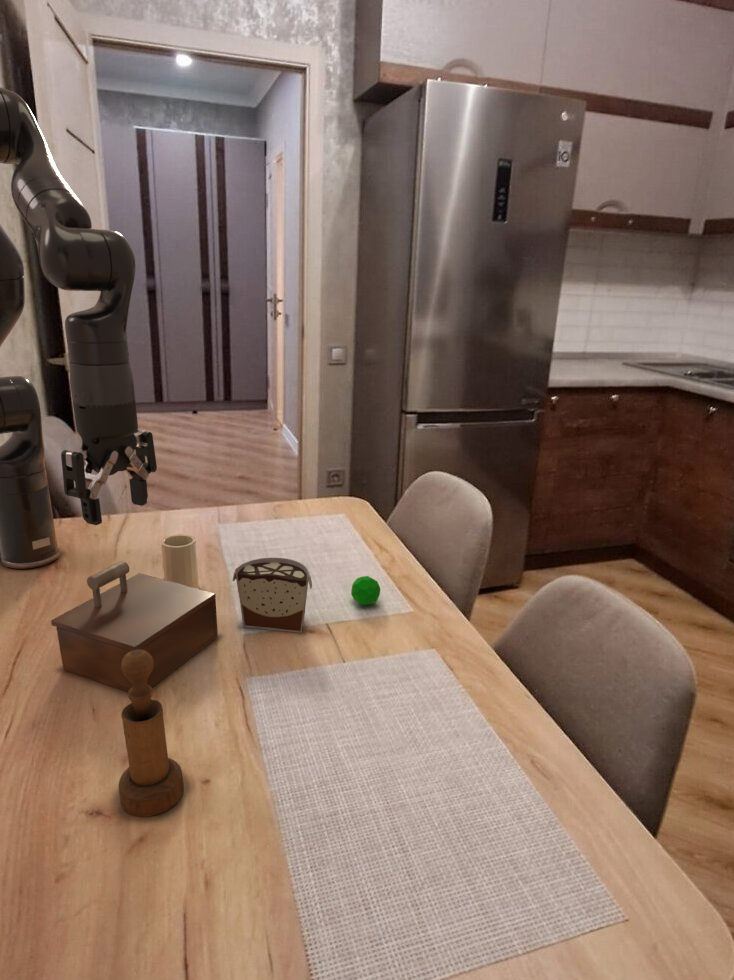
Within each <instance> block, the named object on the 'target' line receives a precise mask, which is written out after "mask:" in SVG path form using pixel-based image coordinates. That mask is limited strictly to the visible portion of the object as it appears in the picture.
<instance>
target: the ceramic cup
mask: <svg viewBox="0 0 734 980" xmlns="http://www.w3.org/2000/svg"><path fill="white" fill-rule="evenodd" d="M160 546H161V555H162V557H161V558H162V568H163V577H164V578H163V580H167V581H171V582H174V583H178V584H182V585H186V586H189V587H193V588H197V589H200V584H199V583H200V582H199V570H198V569H199V568H198V567H199V566H198V554H197V553H198V552H197V541H196V538H195V537H194V535H193V536H192V535H191V534H181V533H180V534H172V535H168V536H166V537H163V538H162V539H161V542H160Z"/></svg>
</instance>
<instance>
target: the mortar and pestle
mask: <svg viewBox="0 0 734 980" xmlns="http://www.w3.org/2000/svg"><path fill="white" fill-rule="evenodd" d="M153 667H154V661H153V658H152V656H151V655H150V654H149V653H148V652H147V651H145V650H133V651H130V652H128V653H127V654H126V655H125V656H124V658H123V660H122V663H121V669H122V672H123V674H124V675H125V677H126V678H127V679H128V680H129V681H130V682H131V683H132V688H131V689H130V690H129V692H127V694H128V698H129V701H130V703H129V704H127V705H126V706H125V707H124V708H123V709H122V711H121V721H122V729H123V733H124V741H125V747H126V753H127V760H128V767H127V768H126V769H125V770H124V771H123V772H122V774H121V776H120V778H119V781H118V793H119V799H120V805H121V806H122V808H123V809H124V811H125V812H126V813H128V814H130V815H132V816H135V817H153V816H156V815H157V816H158V815H159V814H163V813H164V812H166V811H168V810H169V809H171V808H172V807H174V806H175V805H176V804H178V802H179V801H180V800H181V798H182V796H183V793H184V789H185V788H184V787H185V786H184V785H185V784H184V778H183V770H182V767H181V765H180V764H179V763H178V761H176V760H174V759H172V758H170V757H169V754H168V745H167V738H166V737H167V736H166V728H165V719H164V718H165V717H164V709H163V704H162V702H161V701H158V700H156V699H153V698H152V696H153V687H151V686H149V685H148V684H147V679H148V678H149V676H150V674H151V672H152V670H153Z"/></svg>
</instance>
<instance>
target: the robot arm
mask: <svg viewBox="0 0 734 980" xmlns="http://www.w3.org/2000/svg"><path fill="white" fill-rule="evenodd" d="M0 164H3V165H4V164H5V165H17V166H16V167H15V169H14V171H13V172H12V173H13V174H12V176H11V181H10V192H11V193H10V194H11V197H12V200H13V203H14V206H15V207H16V209H17V211H18V213H19V214H20V215H21V217H22V218H23V220H24V221H25V223H26V224H27V226H28V227H29V229H30V230H31V232H32V233H33V236H34V239H35V242H36V247H37V253H38V259H39V261H38V262H39V265H40V269H41V272H42V274H43V276H44V277H45V279H46V280H47V281H48V282H49V283H50V284H51V285H53V286H55V288H58V289H60V290H64V291H66V292H67V291H68V292H99V296H98V299H97V301H96V303H95V304H94V306H92V307H90V308H87V309H84V310H80V311H76V312H75V311H74V312H72V313H70V314H68V315H67V316H66V318H65V321H64V330H65V331H64V332H65V339H66V344H67V353H68V360H69V385H70V393H71V400H72V407H73V413H74V424H75V429H76V433H77V434H78V435H79V437H80V438H81V447H80V449H76V450H68V449H64V450H62V451H61V453H60V458H61V460H60V461H61V469H62V481H63V491H64V495H65V496H68V497H72V498H77V499H79V501H80V506H81V507H80V508H81V514H82V519H83V520H84V521H85V522H86V524H89V525H93V526H98V525H101V524H102V523H103V518H102V517H103V516H102V509H101V503H100V497H98V496H99V493H100V492H101V488H102V486H103V485H105V484H106V483H107V482H108V479H109V476H113V475H115V474H117V473H118V472H124V471H125V472H126V473H127V475H128V476H129V477H130V478H128V481H129V489H130V499H131V503H132V504H133V505H136V506H140V507H142V506H145V505H147V504H148V498H149V493H148V483H147V480H148V478H149V475H150V474H151V473H155V472H156V471H157V469H158V465H157V458H156V451H155V444H154V443H155V442H154V437H153V432H152V431H146V430H141V429H139V421H138V414H137V404H136V403H137V402H136V394H135V393H136V392H135V382H134V376H133V371H132V368H131V367H132V366H131V364H130V363H131V362H130V354H129V353H130V352H129V342H128V341H129V340H128V334H127V333H128V332H127V329H128V318H129V313H130V312H129V311H130V306H131V305H130V304H131V298H132V293H133V288H134V283H135V277H136V268H137V266H136V257H135V253H134V250H133V248H132V246H131V244H130V242H129V241H128V239H126V237H125V236H124V235H123V234H122V233H120V232H118V231H116V230H112V229H105V228H103V229H102V228H93V227H92V219H91V217H90V216H91V215H90V214H89V212H88V210H87V208H86V207H85V205H84V204H83V202H82V201H81V200H80V198H79V197H78V196H77V195H76V193H75V192H74V191H73V189H72V188H71V186H70V185H69V184H68V182H67V181H66V180H65V178H64V177H63V176H62V174H61V172H60V170H59V168H58V167H57V164H56V161H55V159H54V157H53V155H52V153H51V151H50V148H49V146H48V143H47V141H46V138H45V136H44V134H43V132H42V130H41V128H40V125H39V124H38V121H37V119H36V117H35V115H34V114H33V112H32V110H31V108H30V107H29V105H28V103H27V102H26V101H25V100H24V99H23V98H22V96H21V95H19V94H18V93H16V92H14V91H12V90H10V89H7V88H4V87H2V86H1V87H0ZM25 303H26V287H25V266H24V261H23V258H22V255H21V254H20V252H19V250H18V249H17V246H16V245H15V244H14V242H13V241H12V239H11V237H10V236H9V235H8V233H7V231H6V230H5V229H4V227H3V226H2V224H0V348H1V347H2V345H3V344H4V343H5V341H6V340H7V338H8V336H9V335H10V333H11V332H12V330H13V329H14V327H15V326H16V324H17V322H18V321H19V319H20V317H21V316H22V313H23V311H24V308H25ZM42 421H43V420H42V411H41V405H40V399H39V396H38V392H37V390H36V387H35V386H34V385H33V383H32V381H30V380H29V379H28V378H27V377H25V376H22V375H10V376H0V435H4V434H10V433H11V434H10V437H9V438H8V439H7V440H6V441H4V443H3V444H1V445H0V561H1V563H2V565H3V566H5V567H7V568H11V569H16V570H17V569H19V570H20V569H21V570H23V569H25V570H26V569H33V568H34V569H35V568H39V567H43V566H46V565H49V564H51V563H53V562H55V561H56V560H58V558H59V557H60V549H59V546H58V540H57V533H56V528H55V527H56V526H55V521H54V514H53V509H52V508H53V507H52V501H51V493H50V489H49V488H50V487H49V482H48V477H47V470H46V469H47V468H46V463H45V454H46V453H45V452H46V451H45V441H44V433H43V423H42ZM146 460H147V462H146ZM93 471H94V472H95V473H97V474H94V473H92V472H93ZM90 484H91V485H90ZM89 487H90V488H89Z"/></svg>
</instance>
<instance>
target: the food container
mask: <svg viewBox="0 0 734 980" xmlns="http://www.w3.org/2000/svg"><path fill="white" fill-rule="evenodd" d="M235 580H236V586H237V593H238V599H239V605H240V606H239V607H240V612H241V618H242V624H243V628H250V629H260V630H268V631H269V630H270V631H280V632H289V633H290V632H291V633H299V634H302V633H303V629H304V622H305V614H306V605H307V597H308V589H312V588H313V581H312V576H311V574H310V572H309V568H308V567H307V566H306V565H304V564H303V563H301V562H300V561H297V560H294V559H290V558H285V557H261V558H256V559H251V560H249V561H246V562H243V563H241V564H240V565H239V566H237V567H236V568H235V570H234V572H233V576H232V582H235ZM308 587H309V588H308Z"/></svg>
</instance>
